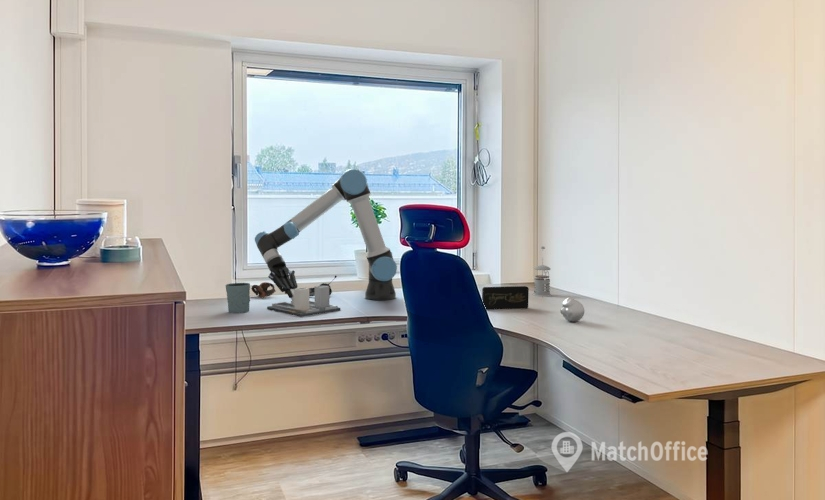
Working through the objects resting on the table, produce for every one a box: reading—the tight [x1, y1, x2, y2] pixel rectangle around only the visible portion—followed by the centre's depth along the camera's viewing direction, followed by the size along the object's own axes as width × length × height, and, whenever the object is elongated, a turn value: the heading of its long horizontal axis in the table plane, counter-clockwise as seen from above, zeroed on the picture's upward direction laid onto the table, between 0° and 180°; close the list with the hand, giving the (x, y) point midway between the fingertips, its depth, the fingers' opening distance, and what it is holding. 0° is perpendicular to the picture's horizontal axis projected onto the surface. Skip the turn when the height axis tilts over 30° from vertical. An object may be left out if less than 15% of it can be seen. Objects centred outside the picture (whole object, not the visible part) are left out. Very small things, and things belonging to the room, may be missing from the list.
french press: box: [532, 245, 552, 298], centre depth 305 cm, size 10×12×25 cm
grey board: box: [266, 300, 341, 318], centre depth 262 cm, size 25×21×2 cm
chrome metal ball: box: [560, 296, 585, 323], centre depth 238 cm, size 9×9×10 cm
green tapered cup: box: [225, 282, 251, 314], centre depth 257 cm, size 10×10×12 cm
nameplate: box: [481, 285, 530, 311], centre depth 266 cm, size 21×2×10 cm, turn 100°
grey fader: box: [314, 285, 330, 308], centre depth 262 cm, size 4×5×9 cm
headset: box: [308, 275, 338, 298], centre depth 302 cm, size 14×10×20 cm
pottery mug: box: [250, 281, 277, 299], centre depth 296 cm, size 12×10×8 cm
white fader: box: [294, 287, 310, 310], centre depth 255 cm, size 4×5×9 cm
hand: (296, 302), depth 257 cm, fingers closed
